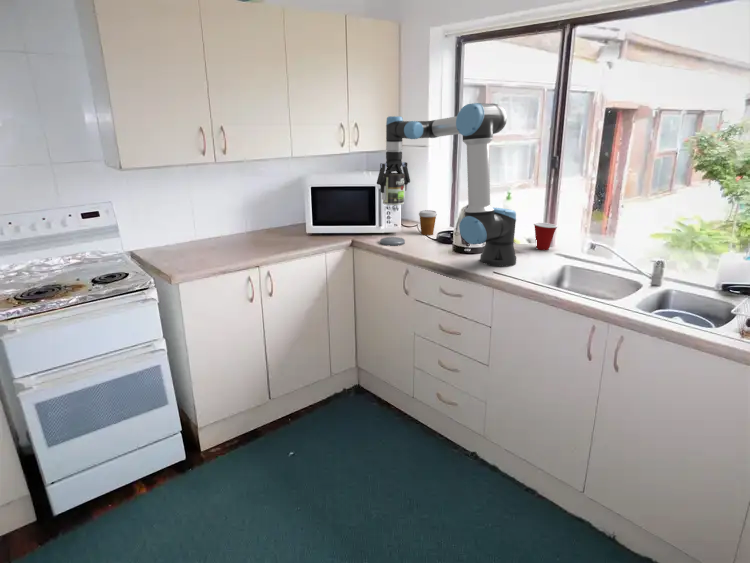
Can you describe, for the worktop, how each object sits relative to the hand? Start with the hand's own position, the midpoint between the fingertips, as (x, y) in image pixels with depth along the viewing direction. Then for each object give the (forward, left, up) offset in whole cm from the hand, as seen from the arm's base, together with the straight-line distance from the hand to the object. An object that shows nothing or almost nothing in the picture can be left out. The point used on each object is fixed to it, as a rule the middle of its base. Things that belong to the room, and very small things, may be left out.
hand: (393, 198), depth 241 cm
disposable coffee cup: (+7, -26, -22) cm, 35 cm away
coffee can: (0, 0, -2) cm, 2 cm away
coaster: (0, 0, -22) cm, 22 cm away
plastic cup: (-45, -56, -22) cm, 75 cm away
